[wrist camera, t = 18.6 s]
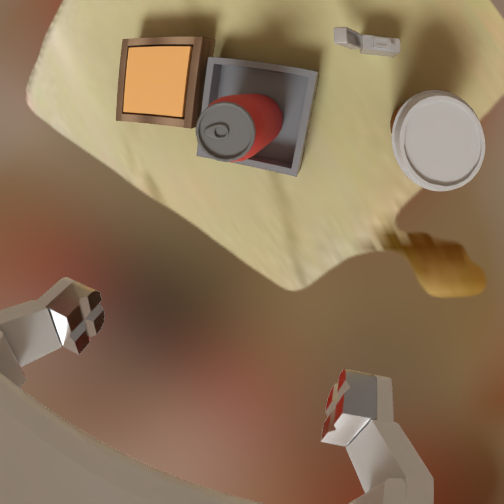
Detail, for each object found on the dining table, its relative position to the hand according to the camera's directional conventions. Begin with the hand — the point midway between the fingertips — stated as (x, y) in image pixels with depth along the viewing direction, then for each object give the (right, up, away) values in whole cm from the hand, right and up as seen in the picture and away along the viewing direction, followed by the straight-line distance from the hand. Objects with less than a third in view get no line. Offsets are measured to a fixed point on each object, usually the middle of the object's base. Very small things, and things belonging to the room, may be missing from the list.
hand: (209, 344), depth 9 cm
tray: (+2, +20, +27) cm, 34 cm away
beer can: (+2, +19, +27) cm, 33 cm away
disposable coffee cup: (+21, +18, +23) cm, 36 cm away
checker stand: (-10, +26, +28) cm, 39 cm away
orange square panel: (-11, +25, +25) cm, 37 cm away
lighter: (+14, +27, +20) cm, 36 cm away
